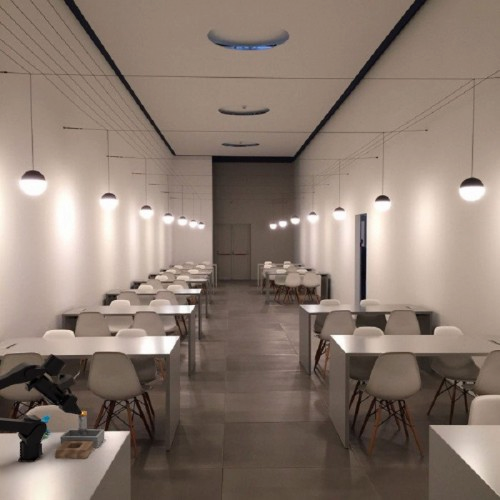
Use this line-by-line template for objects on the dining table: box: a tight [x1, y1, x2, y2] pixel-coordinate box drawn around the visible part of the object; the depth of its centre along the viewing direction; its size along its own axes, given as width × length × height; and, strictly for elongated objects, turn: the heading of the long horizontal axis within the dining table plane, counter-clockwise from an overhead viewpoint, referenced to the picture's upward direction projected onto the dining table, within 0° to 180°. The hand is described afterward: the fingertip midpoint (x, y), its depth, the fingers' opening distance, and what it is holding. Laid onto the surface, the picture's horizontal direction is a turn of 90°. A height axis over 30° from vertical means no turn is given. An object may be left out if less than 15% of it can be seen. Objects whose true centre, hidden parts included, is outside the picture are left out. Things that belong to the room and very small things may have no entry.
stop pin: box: [77, 410, 88, 436], centre depth 197 cm, size 3×3×11 cm
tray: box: [59, 428, 105, 449], centre depth 197 cm, size 14×8×4 cm, turn 88°
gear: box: [40, 414, 51, 439], centre depth 206 cm, size 11×6×10 cm
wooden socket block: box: [54, 441, 95, 459], centre depth 188 cm, size 11×8×3 cm
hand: (75, 410), depth 196 cm, fingers open, 9 cm apart
